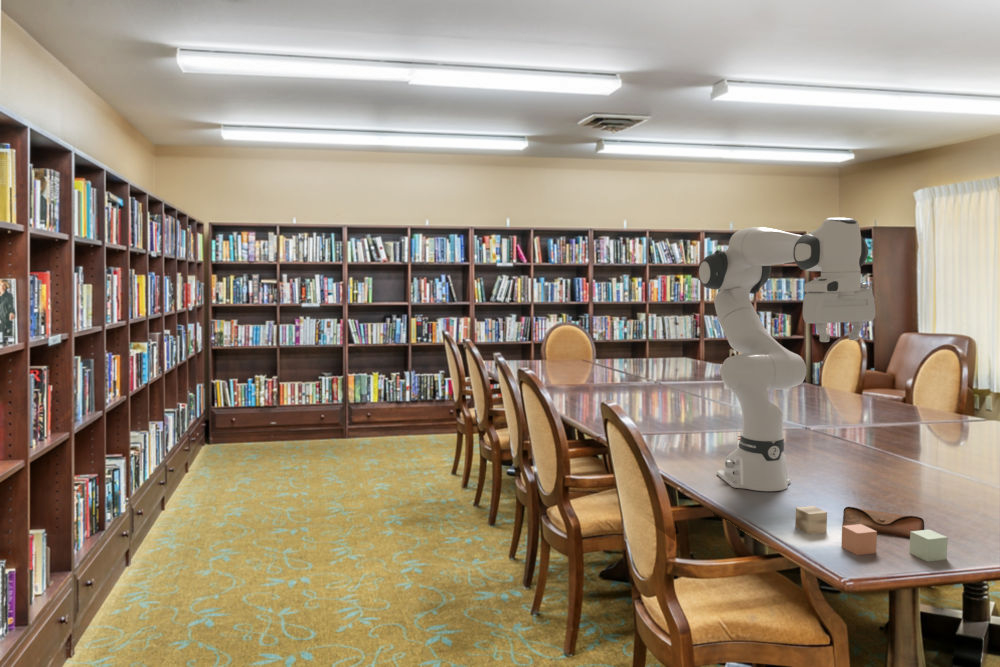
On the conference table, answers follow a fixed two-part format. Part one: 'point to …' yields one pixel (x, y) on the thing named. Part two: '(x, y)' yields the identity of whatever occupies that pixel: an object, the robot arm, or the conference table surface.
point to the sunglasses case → (883, 521)
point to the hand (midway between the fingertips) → (839, 341)
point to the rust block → (859, 539)
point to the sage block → (928, 545)
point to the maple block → (811, 520)
